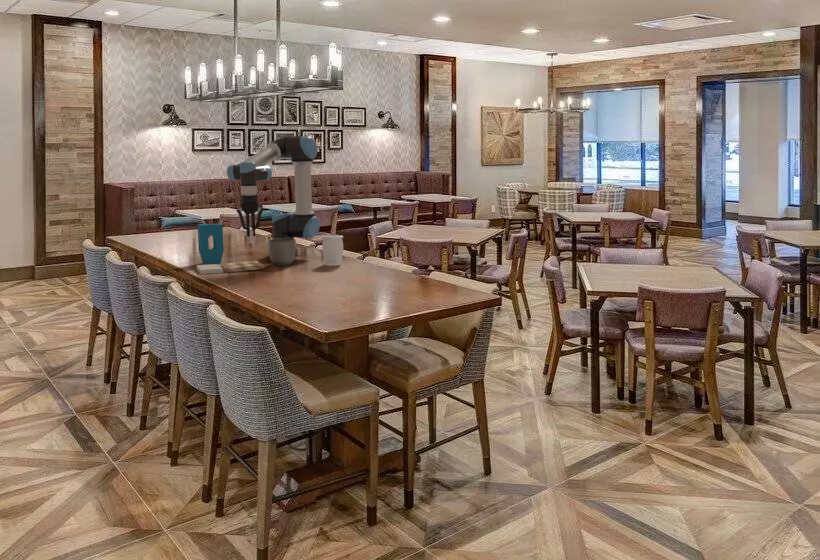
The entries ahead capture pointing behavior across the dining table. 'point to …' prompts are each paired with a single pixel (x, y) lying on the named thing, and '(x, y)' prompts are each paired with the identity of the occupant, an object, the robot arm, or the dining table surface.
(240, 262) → the plank
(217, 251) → the block
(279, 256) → the planter
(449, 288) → the dining table surface
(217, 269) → the floor board
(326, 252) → the jar
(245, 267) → the plank
